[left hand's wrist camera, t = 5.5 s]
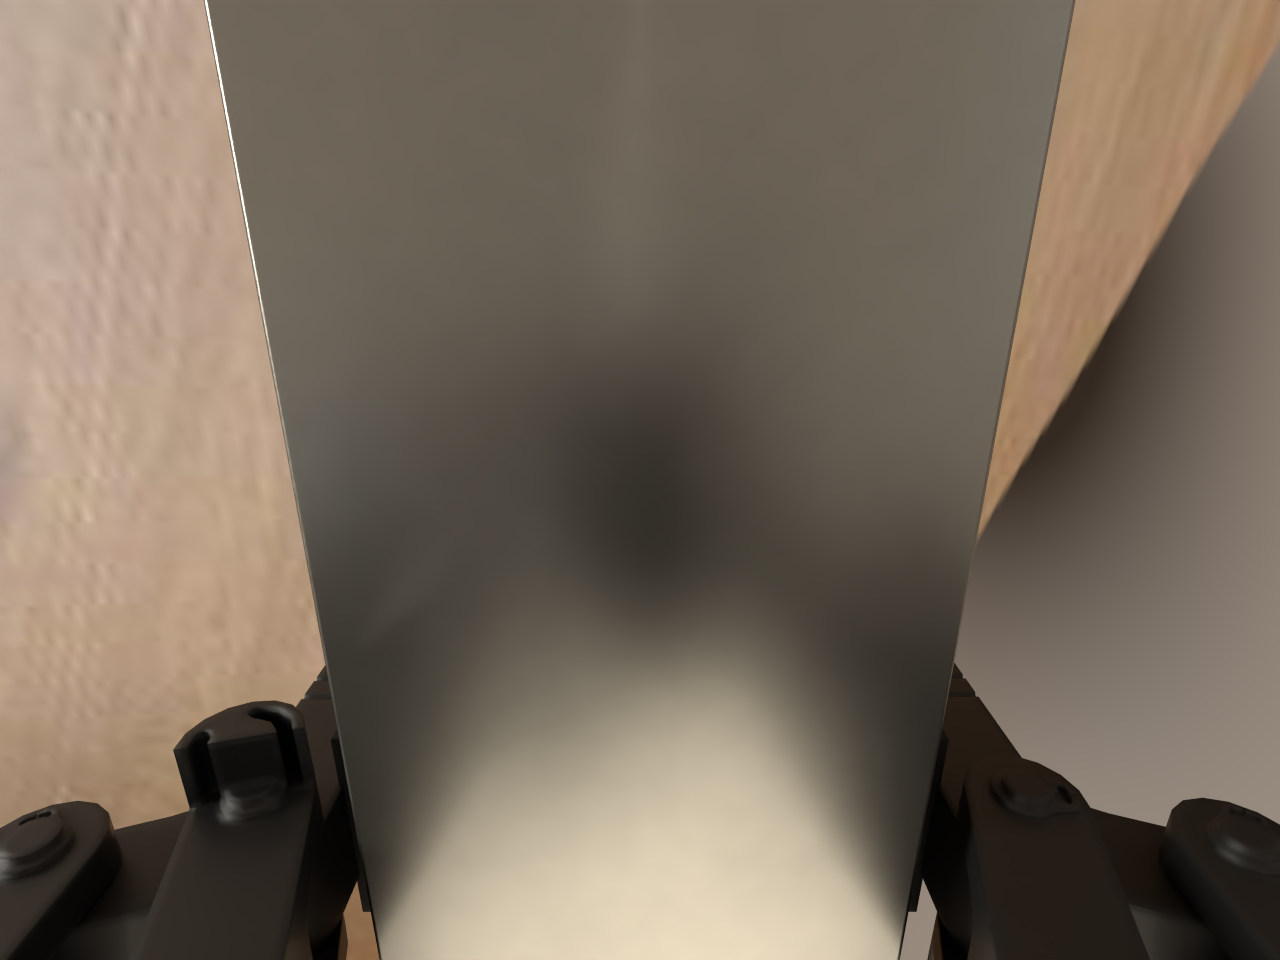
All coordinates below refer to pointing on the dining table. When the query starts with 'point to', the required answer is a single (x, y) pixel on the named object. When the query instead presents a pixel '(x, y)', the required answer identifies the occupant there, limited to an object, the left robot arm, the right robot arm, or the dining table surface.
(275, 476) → the dining table surface
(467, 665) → the bar
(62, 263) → the dining table surface
